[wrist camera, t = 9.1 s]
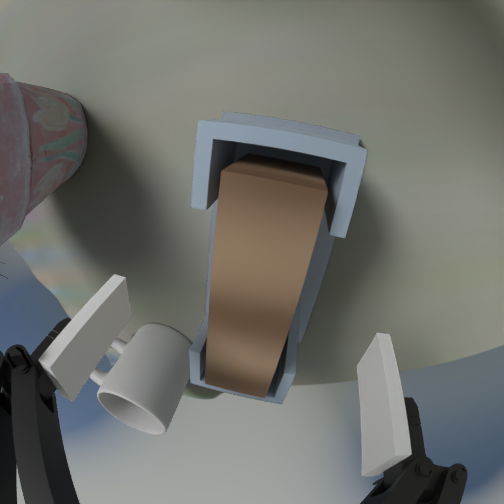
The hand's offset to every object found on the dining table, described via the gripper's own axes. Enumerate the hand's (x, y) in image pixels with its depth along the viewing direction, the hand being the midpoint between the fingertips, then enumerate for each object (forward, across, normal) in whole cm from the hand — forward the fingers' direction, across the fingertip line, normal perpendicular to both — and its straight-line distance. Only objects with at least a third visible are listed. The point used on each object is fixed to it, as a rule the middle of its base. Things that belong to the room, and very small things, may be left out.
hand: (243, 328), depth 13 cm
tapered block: (+7, 0, -1) cm, 7 cm away
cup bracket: (+11, 0, -1) cm, 11 cm away
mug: (+11, -12, -18) cm, 24 cm away
